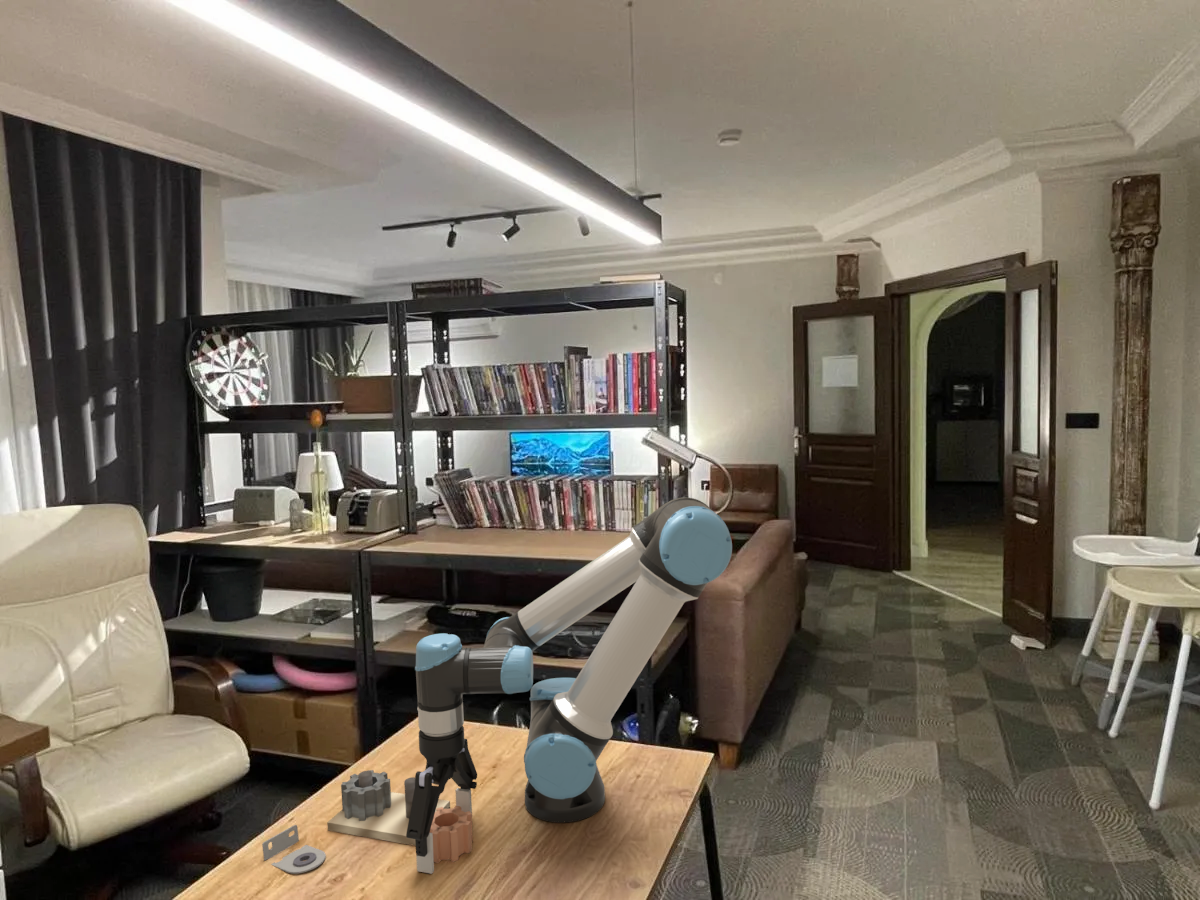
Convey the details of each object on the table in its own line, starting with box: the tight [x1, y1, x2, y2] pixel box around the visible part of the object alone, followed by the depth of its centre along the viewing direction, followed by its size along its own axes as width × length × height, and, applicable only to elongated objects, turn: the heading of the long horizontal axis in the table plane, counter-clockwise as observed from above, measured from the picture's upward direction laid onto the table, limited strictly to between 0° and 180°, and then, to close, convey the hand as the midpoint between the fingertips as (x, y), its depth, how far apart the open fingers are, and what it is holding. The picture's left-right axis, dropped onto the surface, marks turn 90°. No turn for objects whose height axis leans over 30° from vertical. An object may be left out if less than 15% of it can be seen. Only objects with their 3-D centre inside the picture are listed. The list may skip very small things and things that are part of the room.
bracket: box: [261, 824, 327, 875], centre depth 129 cm, size 7×10×4 cm, turn 57°
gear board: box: [326, 769, 451, 847], centre depth 140 cm, size 18×12×8 cm, turn 73°
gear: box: [429, 805, 474, 864], centre depth 131 cm, size 8×8×5 cm
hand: (446, 847), depth 132 cm, fingers open, 13 cm apart
